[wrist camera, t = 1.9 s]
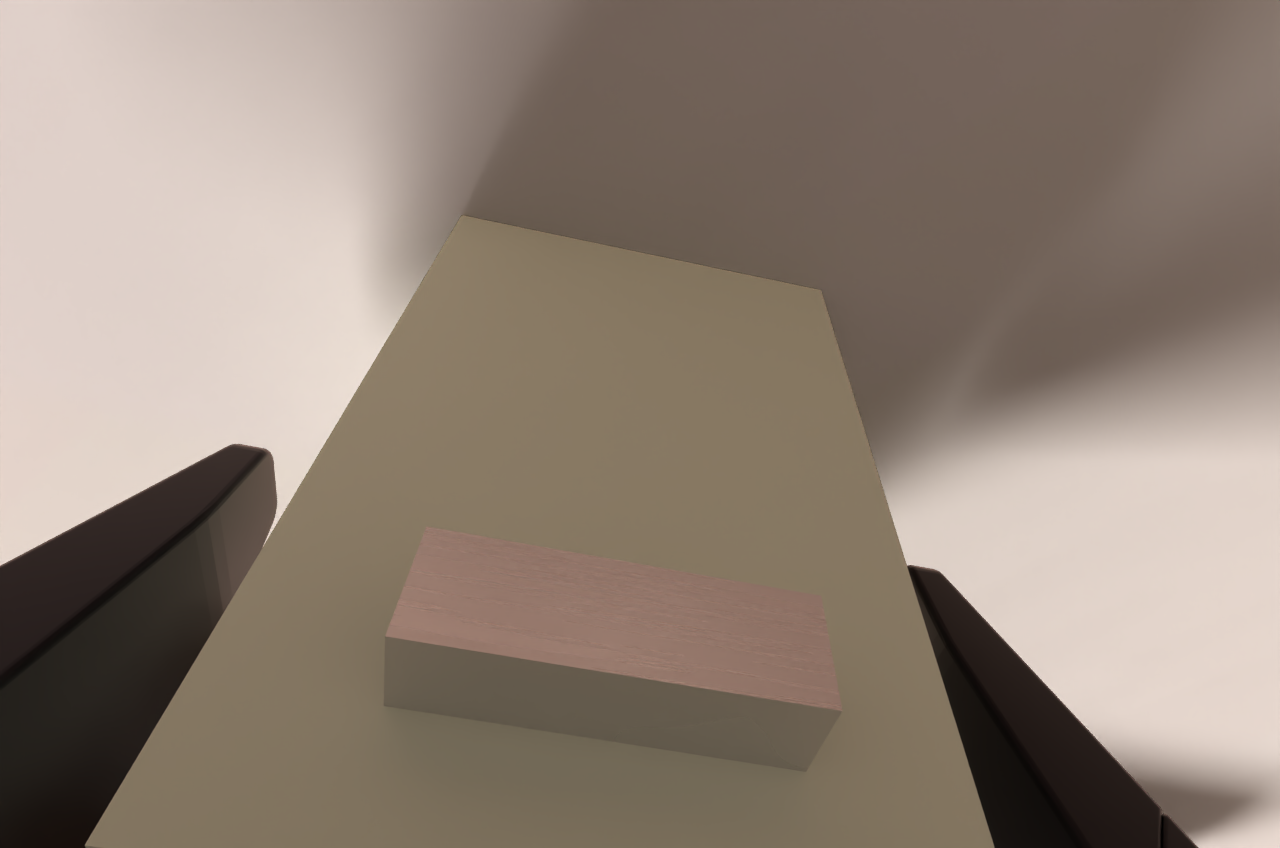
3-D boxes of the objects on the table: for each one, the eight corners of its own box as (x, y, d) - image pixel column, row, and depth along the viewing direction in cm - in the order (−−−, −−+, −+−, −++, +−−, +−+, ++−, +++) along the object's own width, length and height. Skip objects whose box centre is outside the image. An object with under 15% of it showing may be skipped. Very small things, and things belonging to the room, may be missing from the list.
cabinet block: (837, 245, 10) (1100, 924, 4) (710, 584, 13) (734, 1214, 7) (465, 165, 9) (53, 773, 3) (438, 536, 13) (219, 1158, 7)
